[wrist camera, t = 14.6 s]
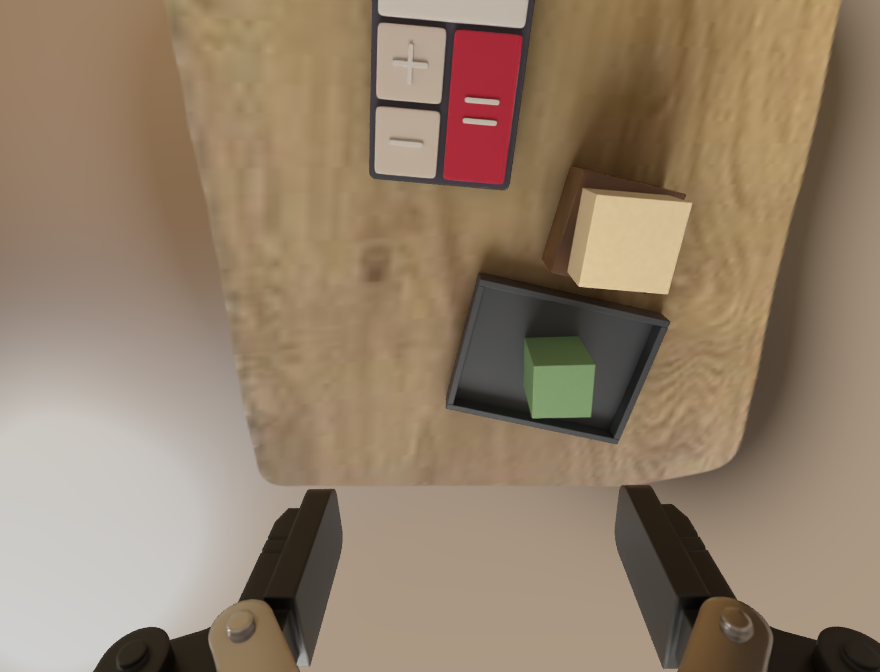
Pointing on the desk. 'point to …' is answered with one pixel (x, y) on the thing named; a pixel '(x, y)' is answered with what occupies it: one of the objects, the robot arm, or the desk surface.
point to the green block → (558, 377)
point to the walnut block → (568, 210)
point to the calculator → (447, 90)
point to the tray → (551, 315)
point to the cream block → (627, 240)
